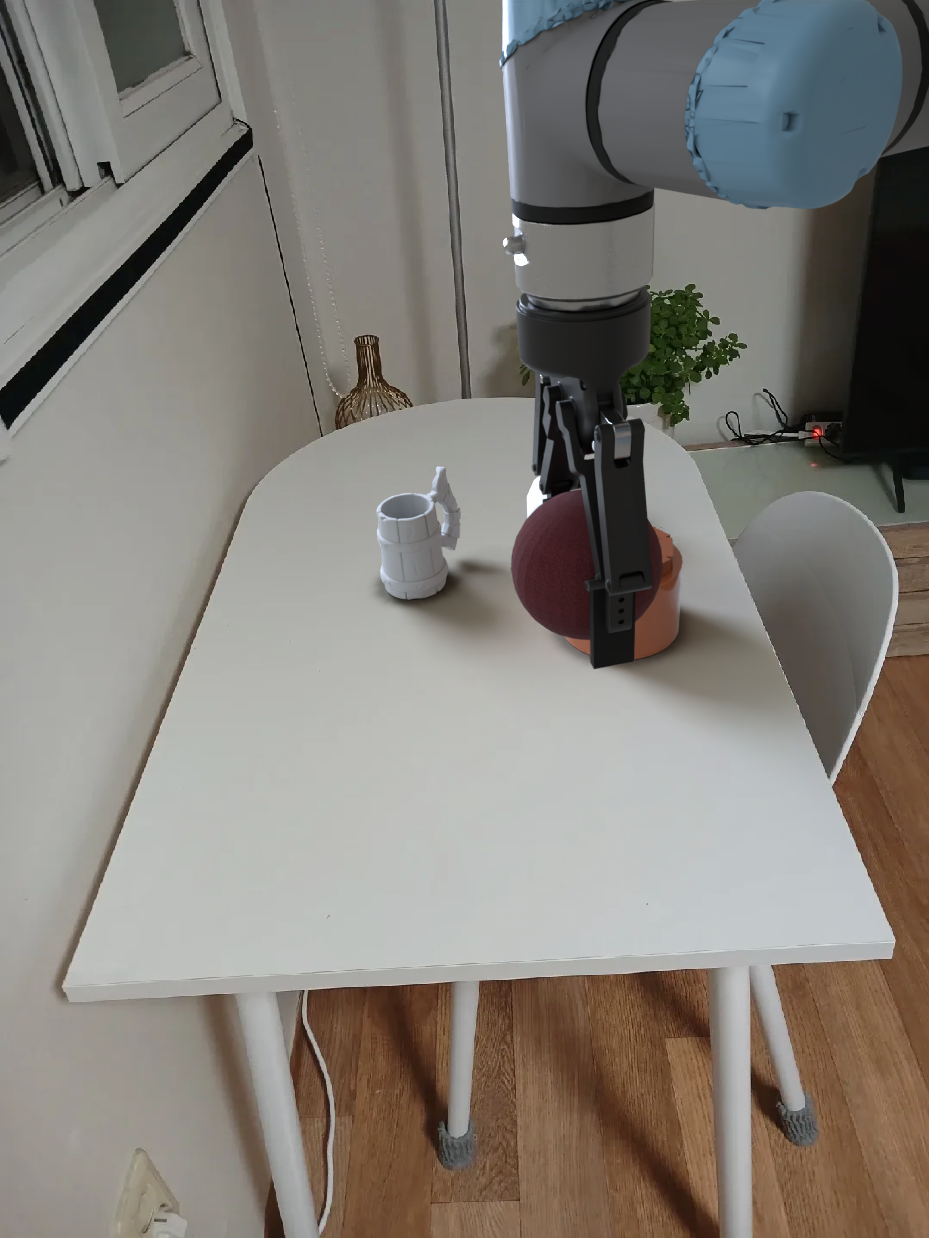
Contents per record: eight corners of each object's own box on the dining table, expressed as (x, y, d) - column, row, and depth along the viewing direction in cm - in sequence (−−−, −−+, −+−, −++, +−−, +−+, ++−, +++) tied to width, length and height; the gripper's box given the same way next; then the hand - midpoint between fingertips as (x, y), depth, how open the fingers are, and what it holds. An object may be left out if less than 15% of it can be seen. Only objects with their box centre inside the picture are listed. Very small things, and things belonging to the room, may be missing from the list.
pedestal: (680, 662, 93) (685, 580, 87) (557, 658, 95) (554, 578, 89) (677, 593, 102) (681, 516, 97) (565, 591, 104) (563, 515, 99)
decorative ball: (514, 589, 71) (506, 467, 65) (651, 583, 70) (655, 458, 64) (515, 673, 62) (506, 542, 57) (669, 667, 62) (676, 533, 56)
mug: (368, 588, 108) (352, 494, 101) (437, 543, 115) (427, 452, 108) (417, 609, 104) (404, 512, 97) (486, 561, 111) (478, 468, 104)
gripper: (474, 251, 62) (496, 546, 74) (578, 367, 43) (584, 733, 56) (585, 235, 63) (588, 530, 75) (733, 343, 44) (704, 708, 57)
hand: (586, 616), depth 66 cm, fingers closed on decorative ball, 10 cm apart
